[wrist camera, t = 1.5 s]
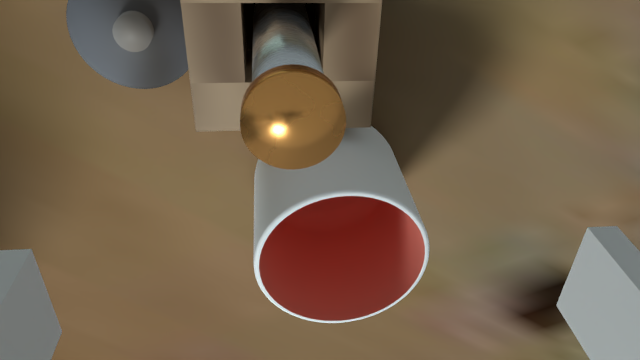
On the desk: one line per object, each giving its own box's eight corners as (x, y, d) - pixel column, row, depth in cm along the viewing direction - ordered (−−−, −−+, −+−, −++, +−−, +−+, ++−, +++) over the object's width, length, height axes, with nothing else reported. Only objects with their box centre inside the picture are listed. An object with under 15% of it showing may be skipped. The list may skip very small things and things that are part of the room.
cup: (279, 237, 41) (284, 340, 32) (234, 130, 35) (226, 221, 27) (403, 202, 40) (441, 299, 32) (377, 87, 34) (414, 168, 26)
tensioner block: (98, 96, 33) (75, 134, 29) (58, -80, 27) (23, -64, 23) (357, 91, 34) (370, 127, 30) (368, -75, 29) (387, -60, 25)
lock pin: (248, 48, 32) (242, 171, 21) (244, -20, 30) (236, 75, 18) (312, 48, 32) (343, 168, 21) (314, -19, 30) (349, 74, 19)
